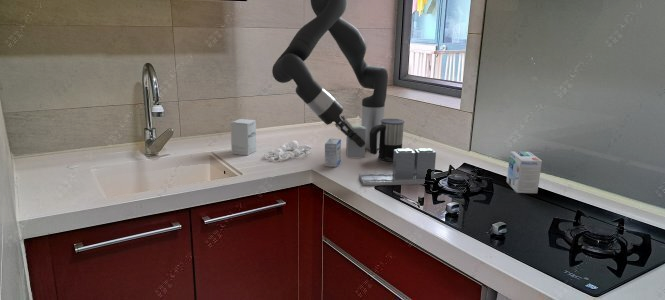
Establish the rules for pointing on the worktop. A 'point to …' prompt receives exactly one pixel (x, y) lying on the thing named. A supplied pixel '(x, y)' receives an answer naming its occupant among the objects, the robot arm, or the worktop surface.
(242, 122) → the supplement box
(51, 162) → the worktop surface
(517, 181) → the light bulb box
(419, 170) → the grey module rack
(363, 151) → the block
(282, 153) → the white lumpy mound
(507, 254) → the worktop surface
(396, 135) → the milk frother
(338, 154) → the medicine box
